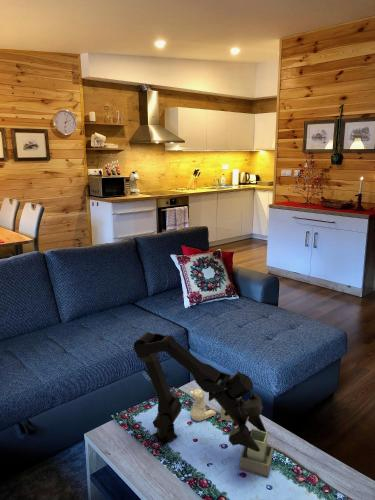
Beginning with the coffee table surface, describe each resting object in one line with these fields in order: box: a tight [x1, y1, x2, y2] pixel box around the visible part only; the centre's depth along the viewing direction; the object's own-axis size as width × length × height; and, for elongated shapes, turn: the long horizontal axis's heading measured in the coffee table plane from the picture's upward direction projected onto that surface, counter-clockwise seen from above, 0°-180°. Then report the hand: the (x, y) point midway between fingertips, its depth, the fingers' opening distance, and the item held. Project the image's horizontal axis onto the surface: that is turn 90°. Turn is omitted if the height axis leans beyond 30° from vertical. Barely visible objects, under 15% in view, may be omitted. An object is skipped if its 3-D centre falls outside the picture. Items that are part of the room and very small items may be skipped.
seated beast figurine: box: [190, 388, 217, 422], centre depth 153 cm, size 10×9×12 cm
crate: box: [239, 444, 274, 479], centre depth 131 cm, size 9×9×4 cm
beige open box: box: [247, 428, 268, 464], centre depth 130 cm, size 5×5×10 cm
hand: (262, 441), depth 129 cm, fingers open, 9 cm apart
